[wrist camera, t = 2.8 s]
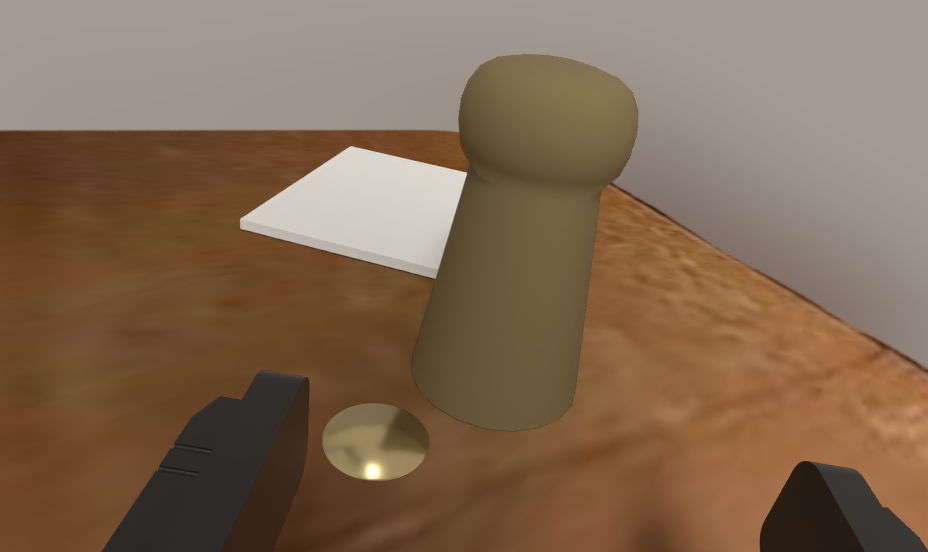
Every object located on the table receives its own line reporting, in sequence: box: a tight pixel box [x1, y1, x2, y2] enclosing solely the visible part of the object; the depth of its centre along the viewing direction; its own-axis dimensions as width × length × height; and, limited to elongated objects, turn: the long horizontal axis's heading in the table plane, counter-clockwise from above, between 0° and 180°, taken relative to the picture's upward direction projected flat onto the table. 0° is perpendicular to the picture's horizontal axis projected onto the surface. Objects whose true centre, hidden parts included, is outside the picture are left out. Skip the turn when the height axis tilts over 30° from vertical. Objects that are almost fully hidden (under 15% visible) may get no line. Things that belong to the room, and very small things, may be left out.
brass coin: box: [322, 403, 428, 481], centre depth 19 cm, size 3×3×1 cm
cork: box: [411, 54, 638, 431], centre depth 20 cm, size 6×6×11 cm
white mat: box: [240, 146, 467, 279], centre depth 34 cm, size 13×13×1 cm
